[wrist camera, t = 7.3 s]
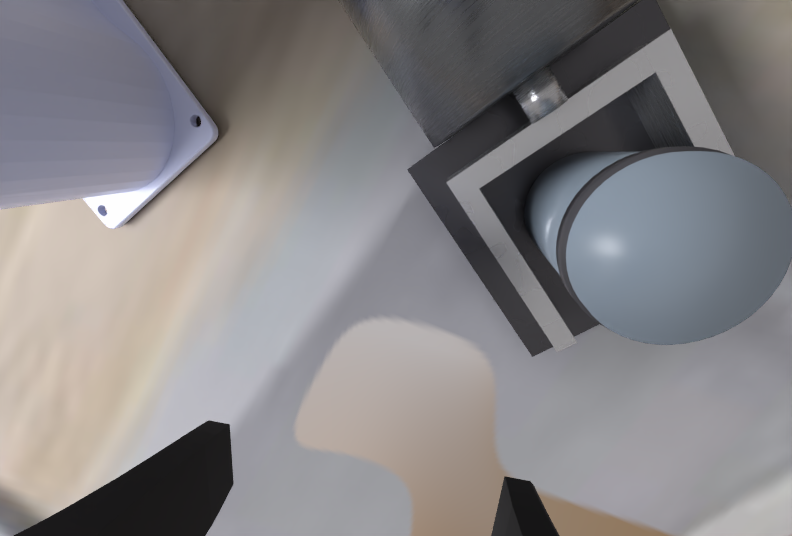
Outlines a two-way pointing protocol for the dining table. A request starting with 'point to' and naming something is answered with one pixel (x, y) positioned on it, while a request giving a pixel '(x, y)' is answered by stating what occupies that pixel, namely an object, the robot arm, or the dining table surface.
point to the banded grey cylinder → (662, 239)
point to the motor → (529, 120)
